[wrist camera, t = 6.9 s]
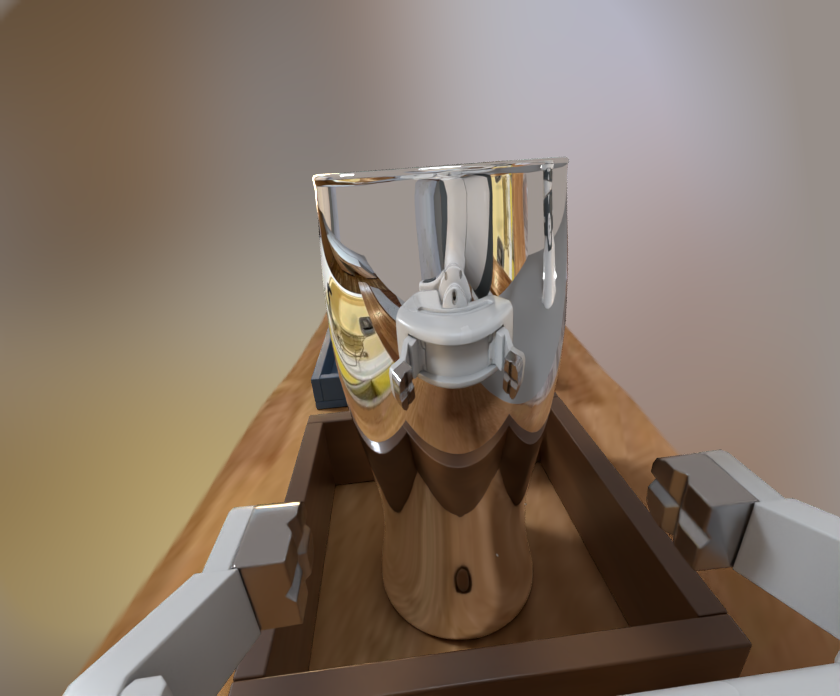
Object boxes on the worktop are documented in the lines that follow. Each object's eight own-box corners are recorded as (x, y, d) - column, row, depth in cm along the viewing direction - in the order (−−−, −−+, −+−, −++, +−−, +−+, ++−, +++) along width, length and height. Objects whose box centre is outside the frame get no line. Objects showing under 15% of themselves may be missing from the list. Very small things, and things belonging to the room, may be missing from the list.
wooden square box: (548, 451, 23) (553, 388, 21) (717, 734, 11) (754, 644, 10) (322, 476, 22) (309, 414, 21) (259, 803, 11) (219, 720, 9)
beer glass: (342, 627, 15) (241, 179, 9) (402, 491, 21) (368, 171, 15) (543, 681, 13) (590, 154, 7) (545, 514, 19) (572, 155, 13)
